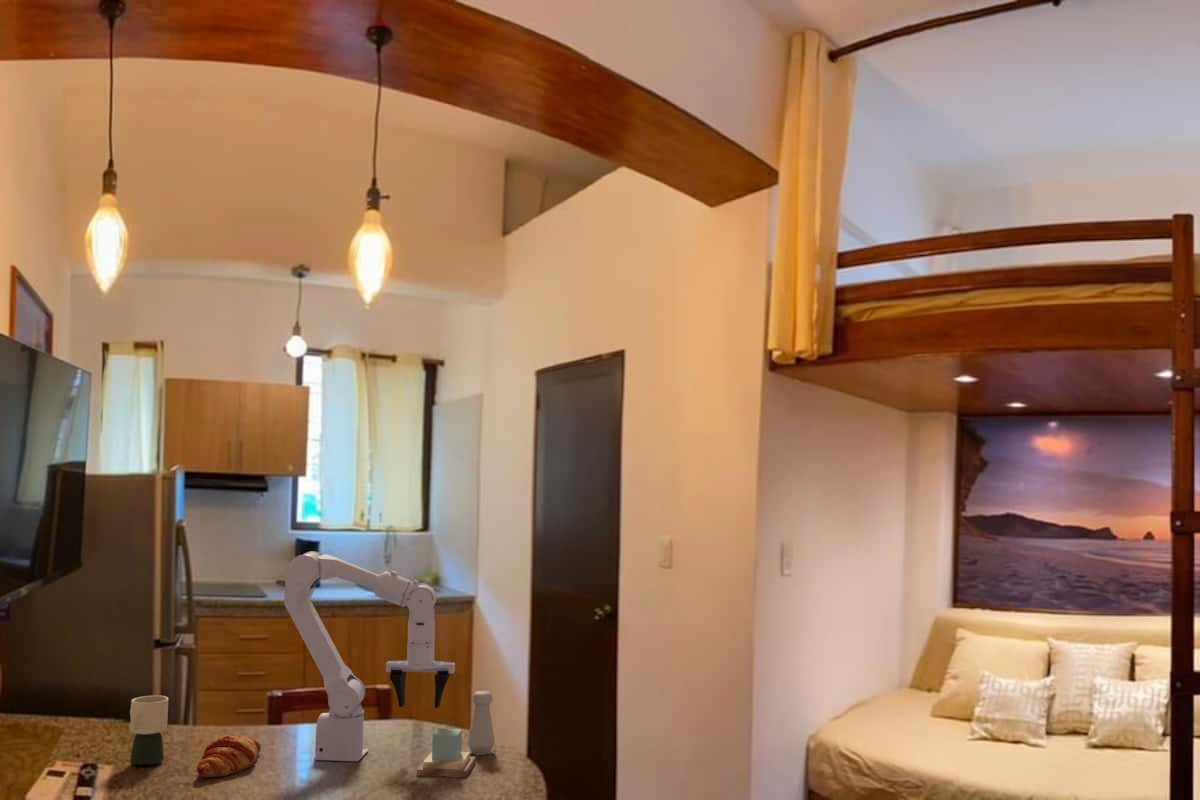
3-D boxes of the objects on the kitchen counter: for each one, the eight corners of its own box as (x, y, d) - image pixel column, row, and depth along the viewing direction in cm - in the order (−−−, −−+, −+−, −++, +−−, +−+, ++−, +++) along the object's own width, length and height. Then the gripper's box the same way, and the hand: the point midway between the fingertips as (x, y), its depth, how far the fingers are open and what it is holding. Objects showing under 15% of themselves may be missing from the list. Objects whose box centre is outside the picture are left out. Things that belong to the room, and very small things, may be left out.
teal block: (431, 760, 202) (432, 735, 202) (437, 753, 207) (437, 728, 207) (456, 761, 202) (457, 735, 202) (461, 753, 207) (461, 729, 207)
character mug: (148, 755, 210) (151, 692, 211) (178, 757, 208) (181, 694, 209) (113, 770, 199) (116, 704, 200) (145, 773, 198) (148, 706, 199)
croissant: (245, 768, 213) (231, 733, 215) (284, 748, 212) (270, 713, 214) (187, 798, 193) (171, 759, 194) (230, 776, 191) (214, 737, 193)
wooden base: (416, 775, 199) (416, 763, 200) (427, 760, 209) (428, 749, 210) (466, 777, 199) (466, 765, 199) (475, 762, 209) (475, 750, 209)
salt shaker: (489, 758, 212) (490, 695, 213) (463, 755, 214) (465, 694, 214) (497, 750, 218) (499, 689, 219) (472, 748, 219) (474, 688, 220)
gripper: (382, 644, 211) (380, 710, 210) (450, 646, 210) (449, 711, 209) (391, 638, 218) (389, 702, 217) (457, 640, 217) (456, 703, 216)
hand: (419, 706), depth 213 cm, fingers open, 7 cm apart
